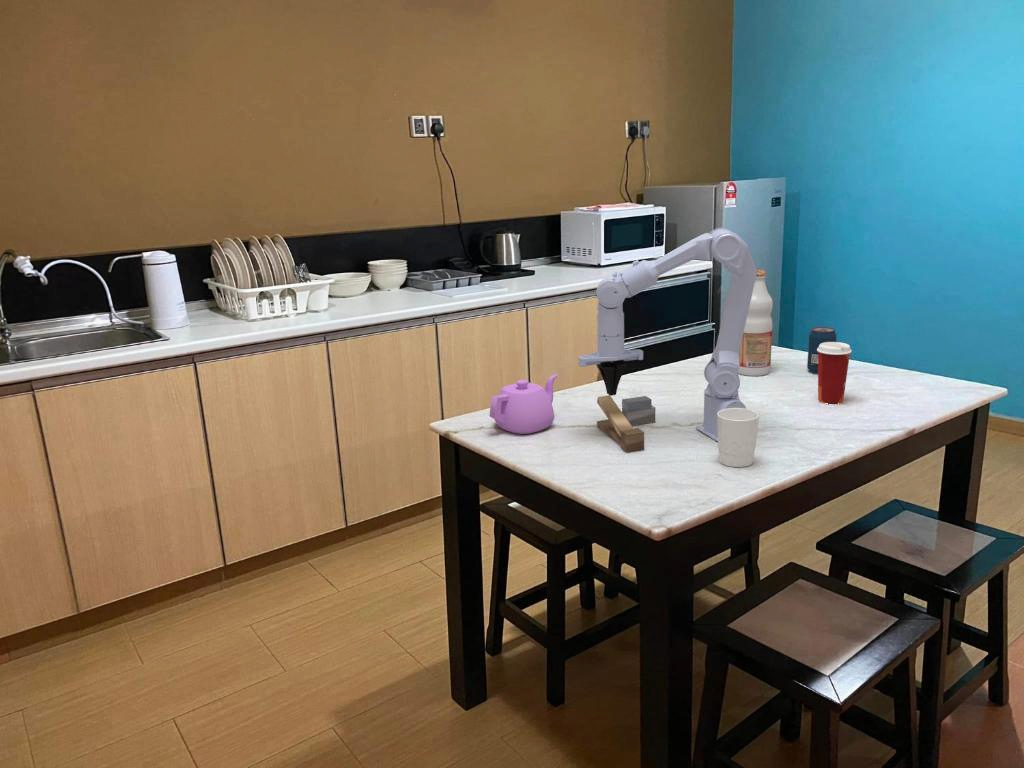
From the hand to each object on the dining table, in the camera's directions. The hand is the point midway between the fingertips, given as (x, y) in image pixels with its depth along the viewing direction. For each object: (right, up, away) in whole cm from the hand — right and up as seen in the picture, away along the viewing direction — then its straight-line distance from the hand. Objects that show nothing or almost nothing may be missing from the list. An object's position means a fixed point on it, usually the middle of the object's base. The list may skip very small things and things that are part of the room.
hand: (611, 394), depth 174 cm
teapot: (-19, -8, +10) cm, 23 cm away
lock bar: (+7, -3, +7) cm, 10 cm away
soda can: (+62, +5, +41) cm, 75 cm away
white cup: (+23, -13, -16) cm, 31 cm away
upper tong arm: (+1, -6, 0) cm, 6 cm away
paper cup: (+55, -2, +17) cm, 58 cm away
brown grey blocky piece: (+6, -9, +1) cm, 11 cm away
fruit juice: (+45, +5, +44) cm, 63 cm away
